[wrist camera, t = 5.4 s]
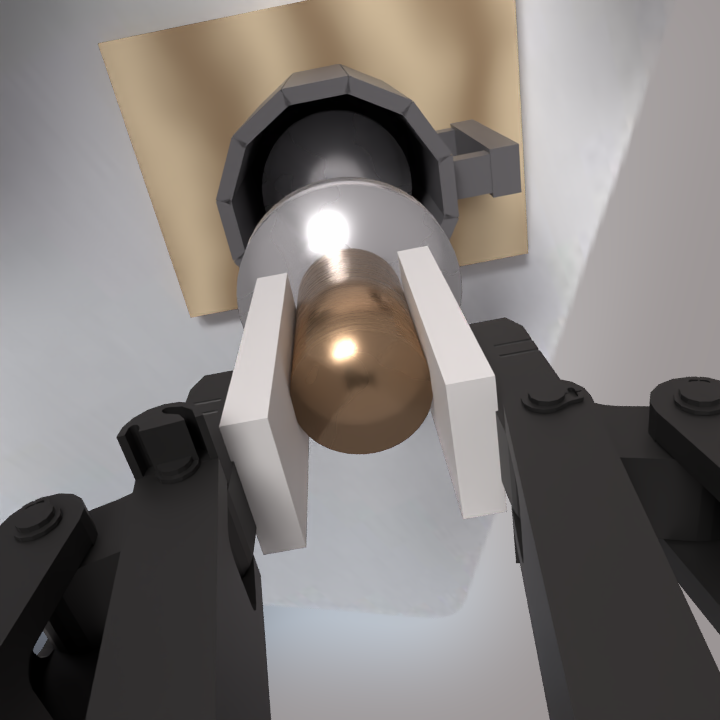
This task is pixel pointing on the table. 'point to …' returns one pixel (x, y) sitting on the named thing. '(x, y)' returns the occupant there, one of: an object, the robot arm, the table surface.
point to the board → (270, 69)
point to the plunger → (347, 278)
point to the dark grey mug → (398, 116)
